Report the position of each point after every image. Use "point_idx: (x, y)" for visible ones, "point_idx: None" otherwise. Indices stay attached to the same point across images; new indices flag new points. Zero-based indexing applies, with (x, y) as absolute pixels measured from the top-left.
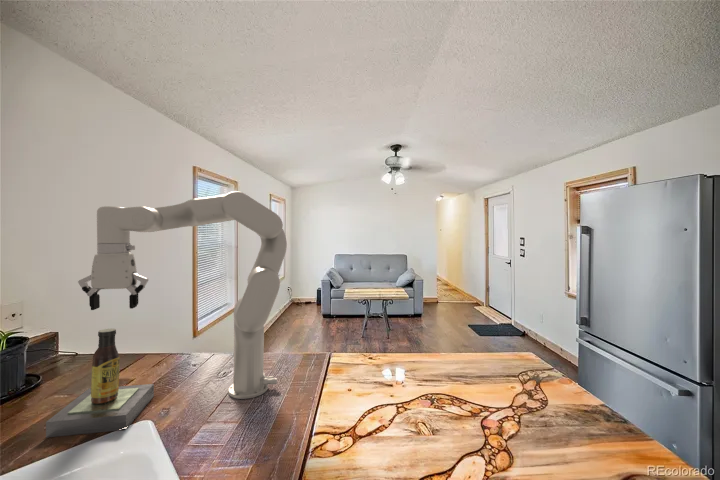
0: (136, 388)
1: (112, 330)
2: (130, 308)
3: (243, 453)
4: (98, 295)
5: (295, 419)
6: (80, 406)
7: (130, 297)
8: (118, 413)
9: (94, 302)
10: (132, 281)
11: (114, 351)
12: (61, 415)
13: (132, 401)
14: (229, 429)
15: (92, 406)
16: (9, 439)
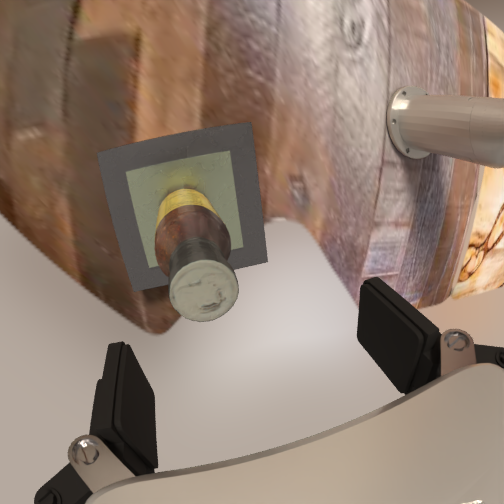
0: (225, 154)
1: (232, 294)
2: (360, 336)
3: (414, 285)
4: (127, 431)
5: (458, 220)
6: (153, 243)
7: (401, 385)
8: (250, 257)
9: (152, 427)
10: (491, 395)
11: (226, 256)
12: (141, 271)
13: (249, 211)
14: (402, 243)
15: None
16: (83, 284)
